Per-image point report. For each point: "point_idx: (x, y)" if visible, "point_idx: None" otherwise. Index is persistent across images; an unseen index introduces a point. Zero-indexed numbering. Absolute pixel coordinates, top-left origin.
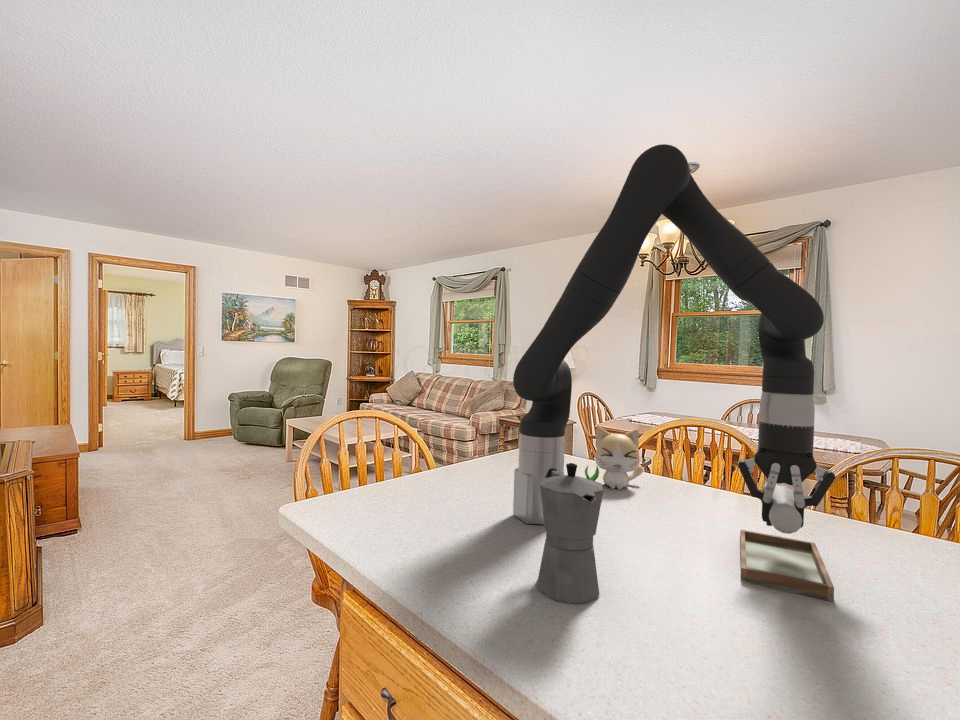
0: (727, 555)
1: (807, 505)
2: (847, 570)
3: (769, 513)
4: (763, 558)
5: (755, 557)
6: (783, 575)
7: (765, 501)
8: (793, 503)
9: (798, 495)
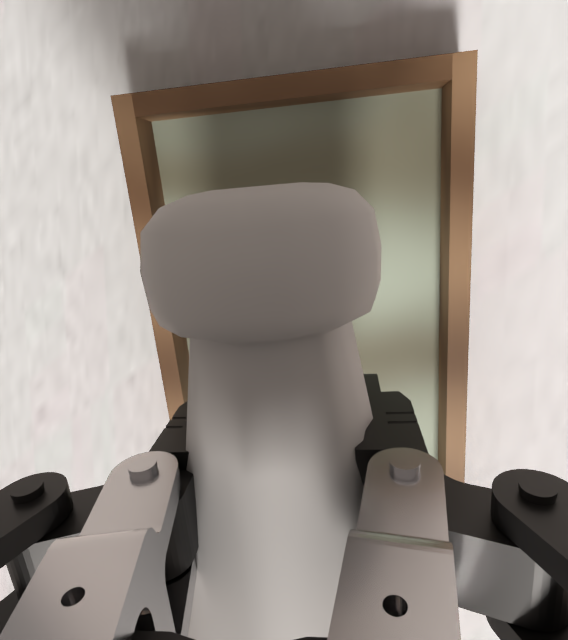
0: (505, 330)
1: (101, 489)
2: (112, 435)
3: (378, 272)
4: (369, 349)
5: (399, 340)
6: (294, 92)
7: (414, 453)
8: (201, 510)
9: (126, 528)
